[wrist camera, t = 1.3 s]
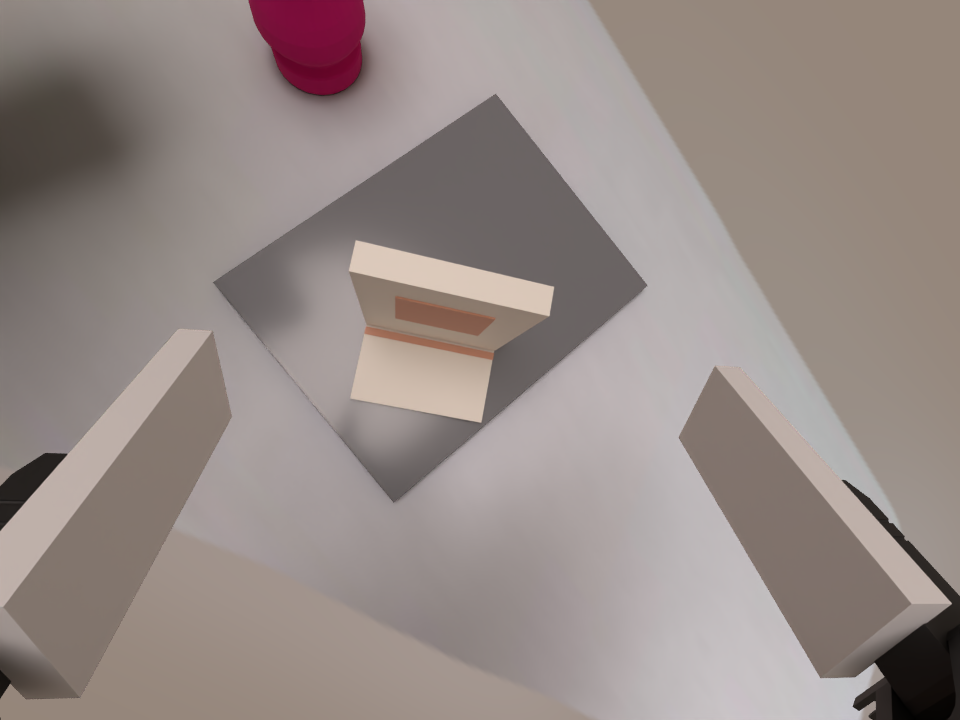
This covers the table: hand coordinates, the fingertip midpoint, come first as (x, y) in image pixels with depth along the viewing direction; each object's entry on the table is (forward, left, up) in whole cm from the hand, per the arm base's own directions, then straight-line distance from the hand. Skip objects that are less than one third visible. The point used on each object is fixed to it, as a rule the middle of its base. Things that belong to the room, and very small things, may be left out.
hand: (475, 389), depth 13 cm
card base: (-2, +2, -20) cm, 21 cm away
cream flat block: (-4, +4, -19) cm, 20 cm away
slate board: (-6, +7, -21) cm, 23 cm away
